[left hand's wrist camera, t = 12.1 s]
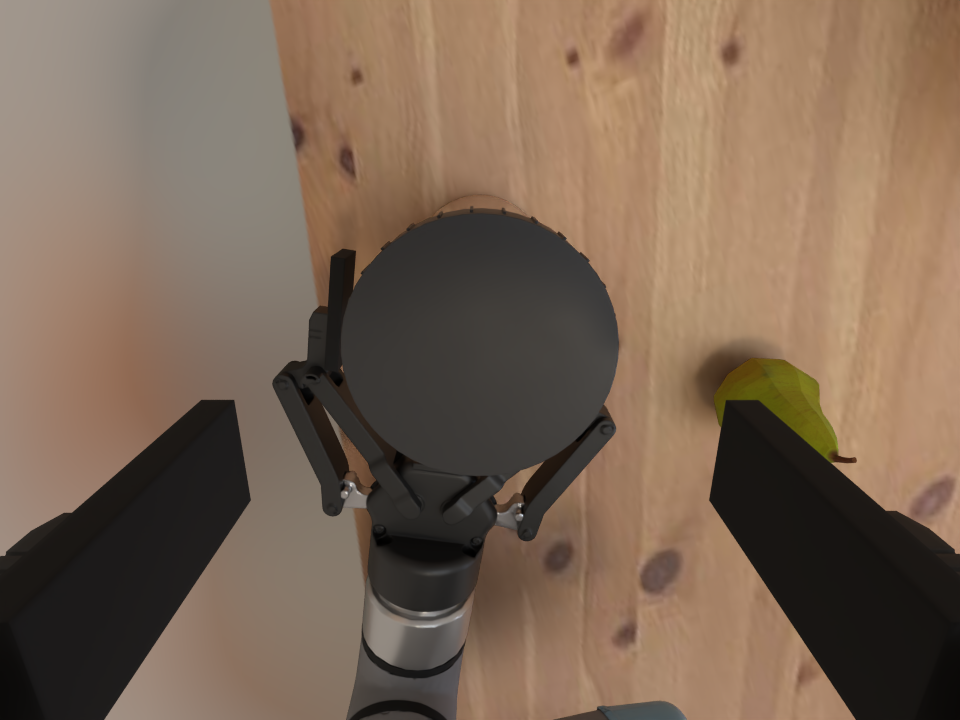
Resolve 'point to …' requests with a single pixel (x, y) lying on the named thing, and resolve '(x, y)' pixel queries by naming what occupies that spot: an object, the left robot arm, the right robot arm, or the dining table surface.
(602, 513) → the dining table surface
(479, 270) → the lid
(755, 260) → the dining table surface
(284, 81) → the dining table surface
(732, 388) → the fruit
